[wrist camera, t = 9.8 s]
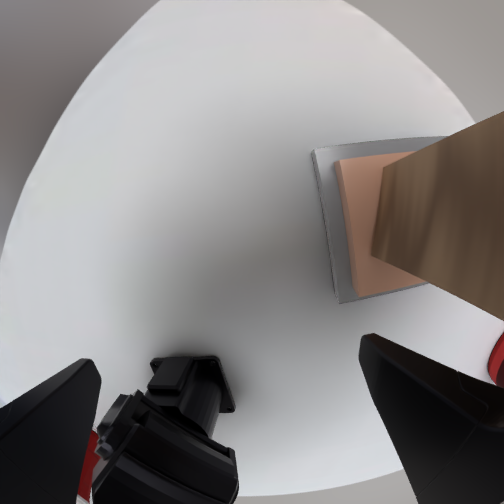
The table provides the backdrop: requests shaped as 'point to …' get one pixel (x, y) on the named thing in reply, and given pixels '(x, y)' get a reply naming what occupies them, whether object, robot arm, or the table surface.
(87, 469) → the plastic cup
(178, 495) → the robot arm
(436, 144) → the walnut post
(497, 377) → the canned food
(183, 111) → the table surface
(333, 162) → the pedestal
